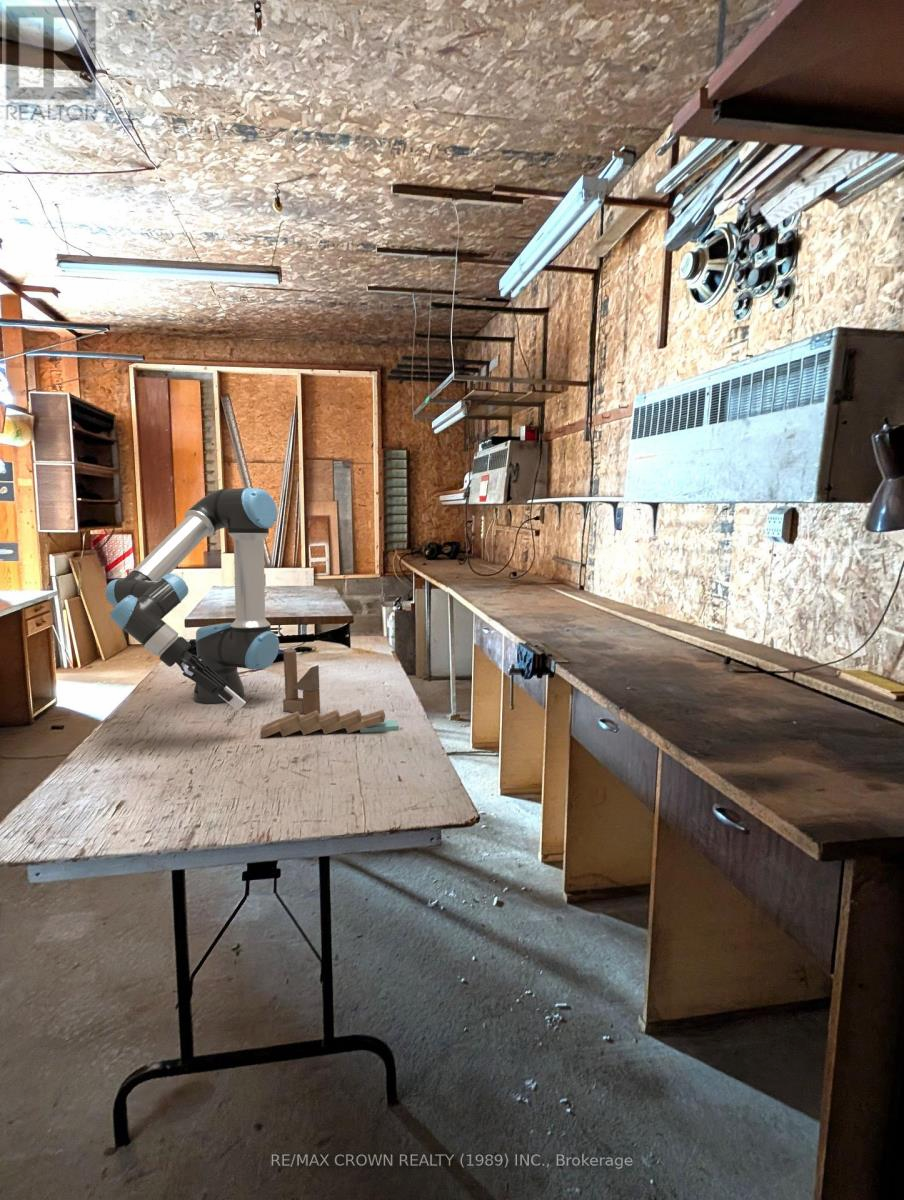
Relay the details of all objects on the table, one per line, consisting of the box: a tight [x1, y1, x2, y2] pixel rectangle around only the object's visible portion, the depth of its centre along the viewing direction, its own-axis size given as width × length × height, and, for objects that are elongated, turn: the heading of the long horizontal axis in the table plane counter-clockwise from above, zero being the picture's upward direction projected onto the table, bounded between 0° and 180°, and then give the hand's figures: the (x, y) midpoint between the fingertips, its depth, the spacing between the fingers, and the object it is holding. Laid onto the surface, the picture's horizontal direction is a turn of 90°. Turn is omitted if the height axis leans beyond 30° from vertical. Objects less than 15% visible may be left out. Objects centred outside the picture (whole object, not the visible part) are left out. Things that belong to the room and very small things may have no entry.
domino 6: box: [359, 719, 399, 733], centre depth 175 cm, size 5×2×10 cm
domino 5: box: [345, 709, 386, 734], centre depth 173 cm, size 5×2×10 cm
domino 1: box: [260, 711, 302, 739], centre depth 171 cm, size 5×2×10 cm
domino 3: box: [300, 709, 341, 736], centre depth 173 cm, size 5×2×10 cm
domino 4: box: [321, 708, 363, 735], centre depth 173 cm, size 5×2×10 cm
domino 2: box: [279, 710, 321, 738], centre depth 172 cm, size 5×2×10 cm
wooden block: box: [282, 649, 321, 715], centre depth 189 cm, size 4×11×18 cm, turn 66°
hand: (241, 706), depth 168 cm, fingers closed
